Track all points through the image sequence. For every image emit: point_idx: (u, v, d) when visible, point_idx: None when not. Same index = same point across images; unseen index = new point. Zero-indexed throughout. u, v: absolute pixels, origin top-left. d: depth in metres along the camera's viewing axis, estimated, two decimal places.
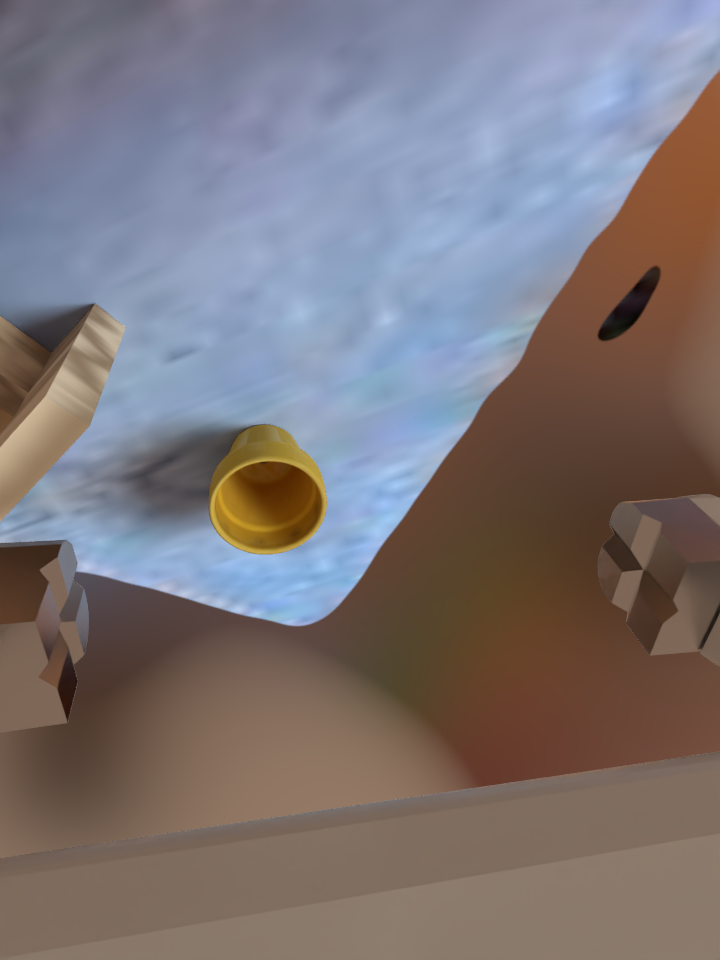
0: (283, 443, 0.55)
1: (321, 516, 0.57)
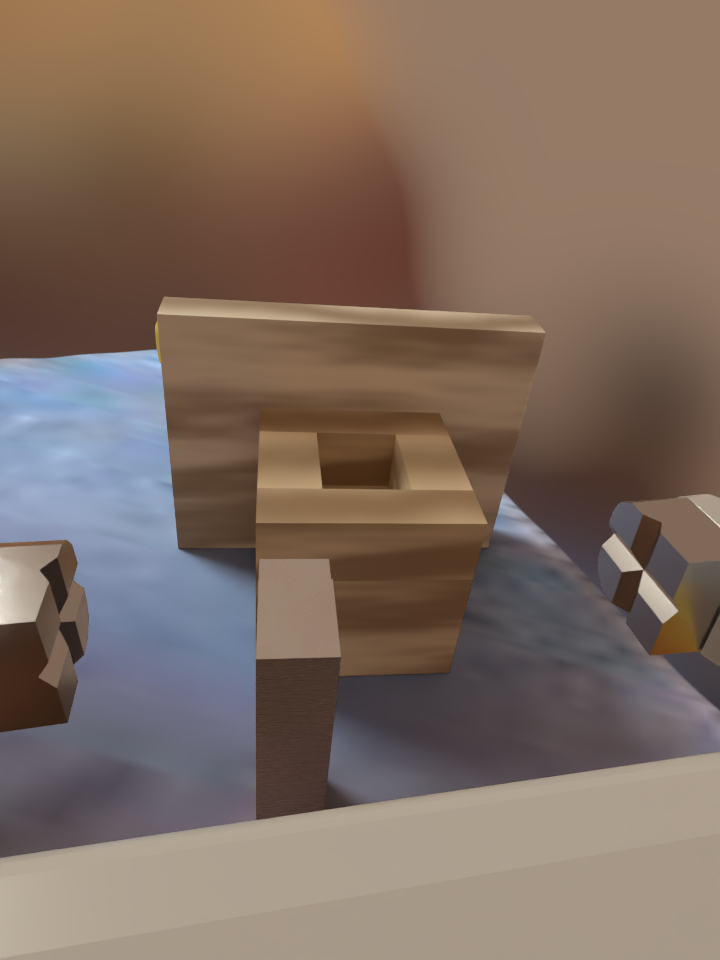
0: None
1: None
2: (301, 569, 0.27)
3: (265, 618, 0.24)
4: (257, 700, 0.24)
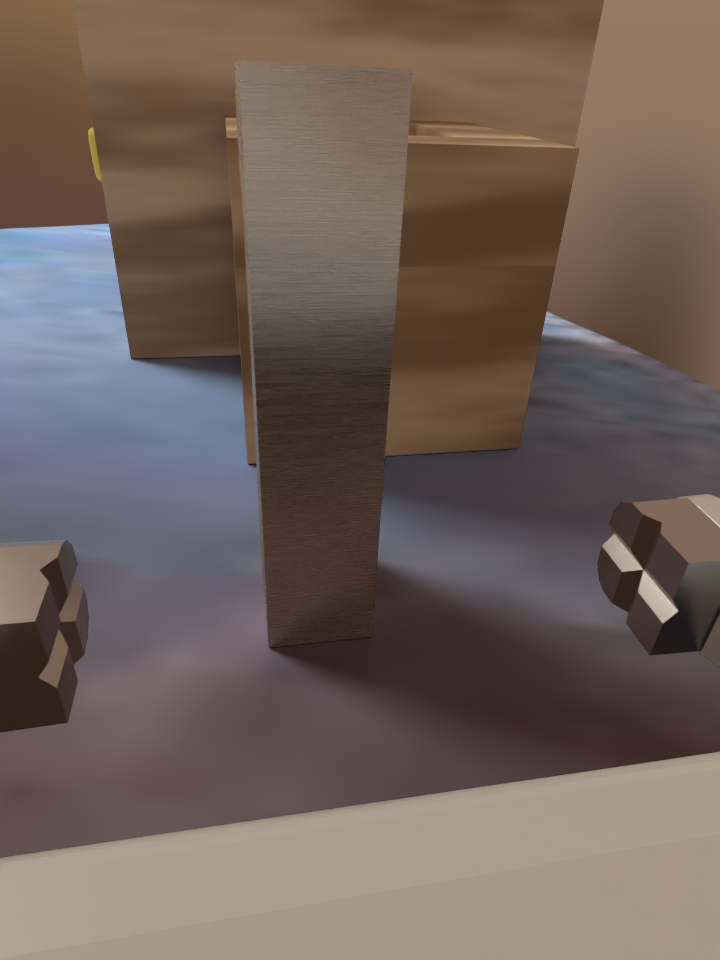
0: (99, 175, 0.46)
1: None
2: None
3: None
4: (249, 208, 0.12)
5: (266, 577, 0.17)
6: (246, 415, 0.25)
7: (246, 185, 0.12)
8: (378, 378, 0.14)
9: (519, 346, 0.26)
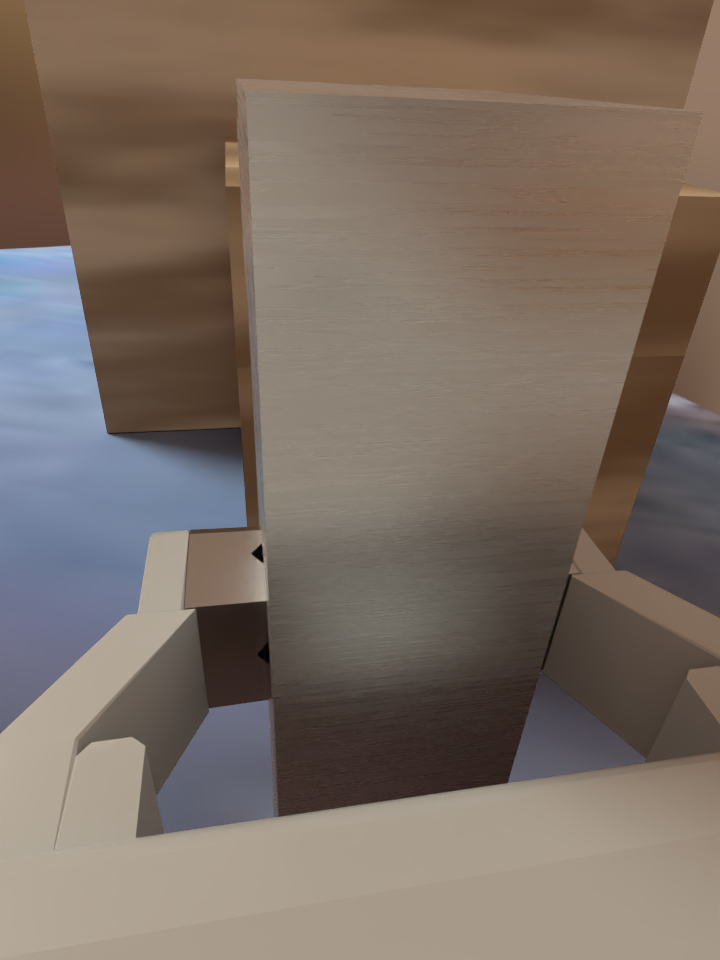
0: None
1: None
2: None
3: (276, 84, 0.05)
4: (268, 436, 0.05)
5: None
6: None
7: (262, 390, 0.05)
8: (512, 692, 0.07)
9: (624, 457, 0.19)
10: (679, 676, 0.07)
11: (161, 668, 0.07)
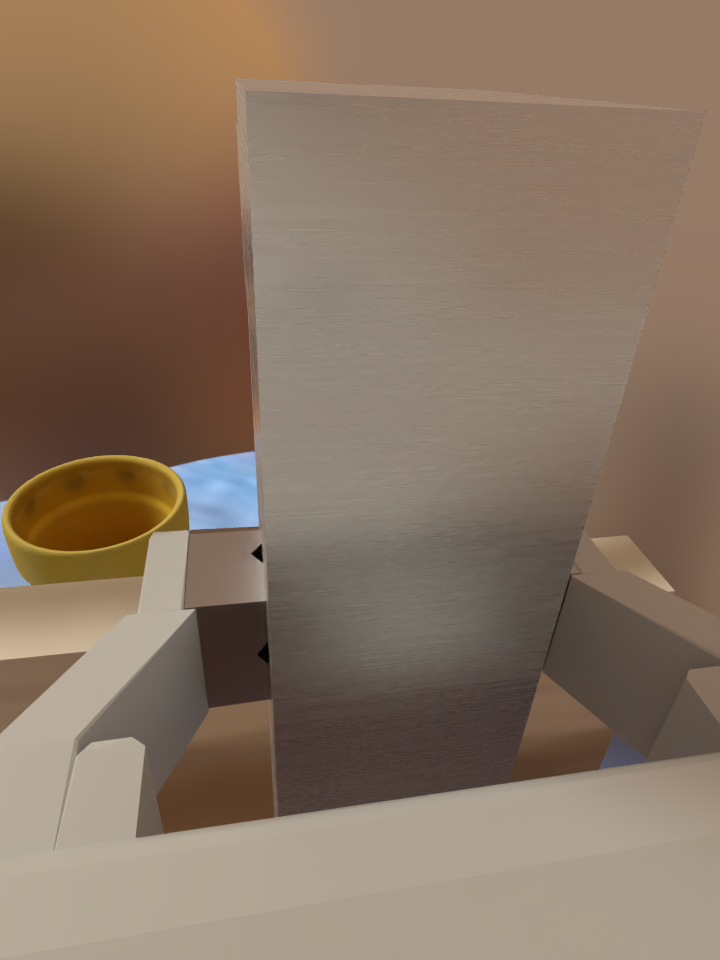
0: (16, 566, 0.37)
1: (67, 465, 0.41)
2: None
3: (276, 84, 0.05)
4: (268, 437, 0.05)
5: None
6: None
7: (262, 391, 0.05)
8: (512, 694, 0.07)
9: None
10: (679, 675, 0.07)
11: (161, 668, 0.07)
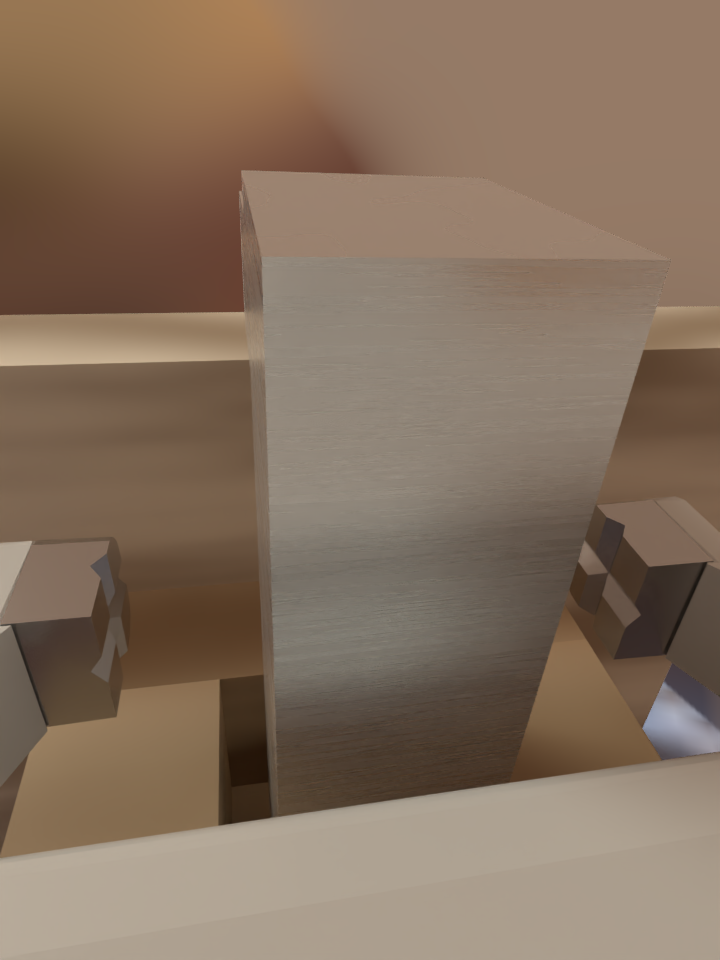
0: None
1: None
2: None
3: (283, 204, 0.06)
4: (276, 535, 0.05)
5: None
6: None
7: (271, 497, 0.05)
8: (500, 745, 0.08)
9: None
10: None
11: None
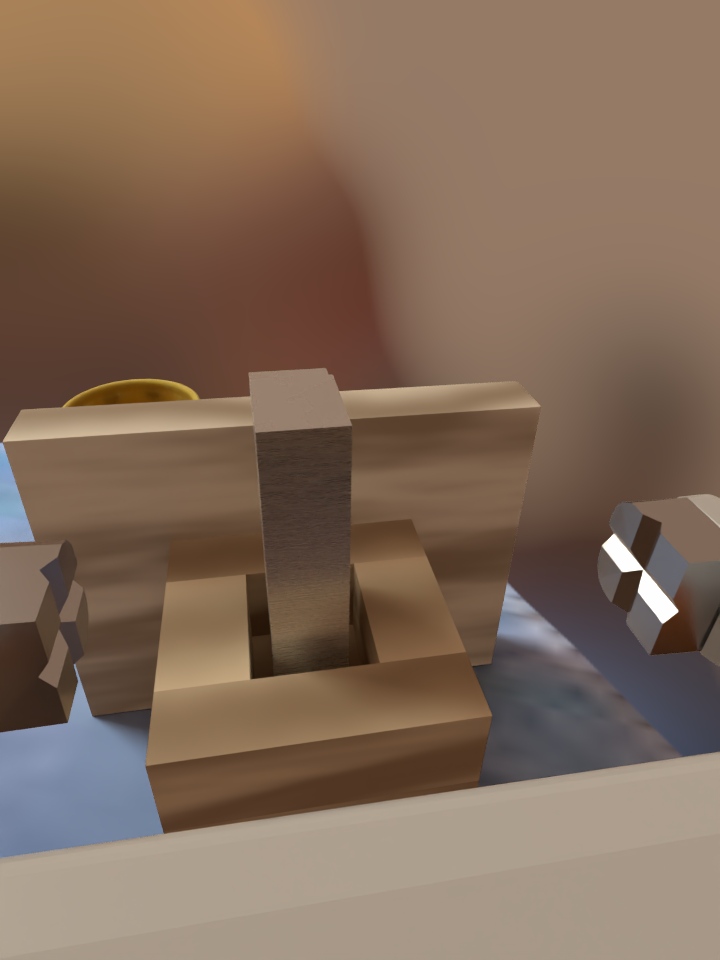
0: None
1: (105, 385, 0.51)
2: (296, 376, 0.24)
3: (261, 404, 0.21)
4: (262, 494, 0.21)
5: None
6: None
7: (260, 484, 0.20)
8: (342, 568, 0.23)
9: None
10: None
11: None
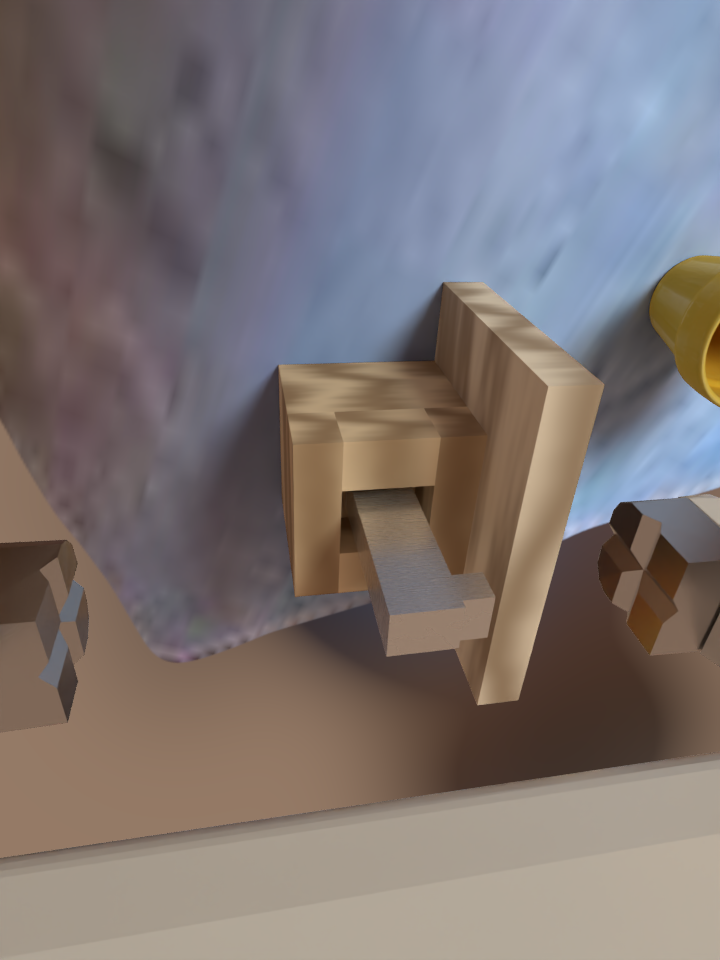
0: None
1: None
2: (478, 622, 0.34)
3: (425, 615, 0.32)
4: (380, 585, 0.34)
5: (352, 491, 0.41)
6: (280, 378, 0.45)
7: (381, 590, 0.34)
8: (366, 579, 0.38)
9: (286, 524, 0.49)
10: None
11: None
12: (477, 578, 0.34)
